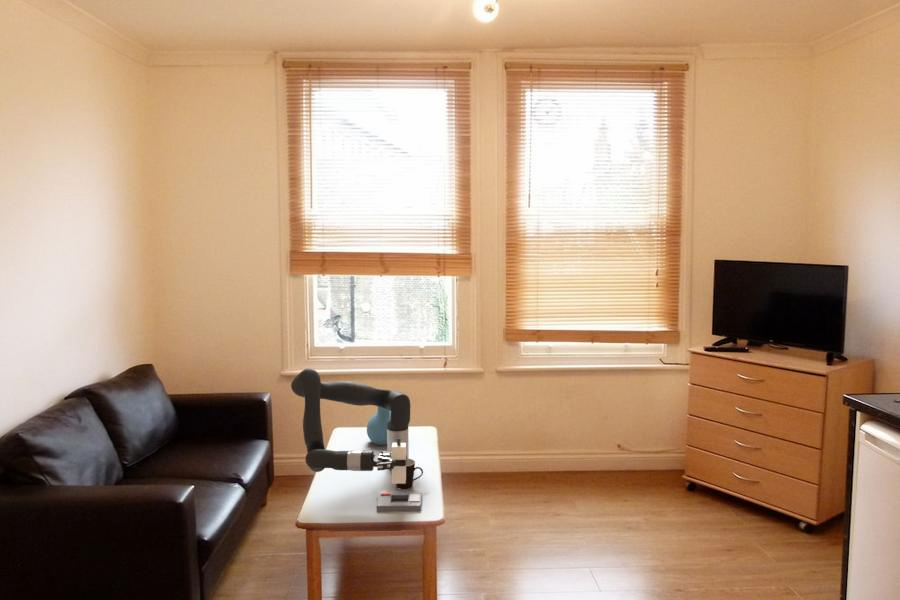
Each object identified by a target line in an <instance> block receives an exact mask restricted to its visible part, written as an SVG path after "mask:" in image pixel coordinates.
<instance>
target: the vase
mask: <svg viewBox="0 0 900 600" xmlns="http://www.w3.org/2000/svg"><path fill="white" fill-rule="evenodd" d="M390 420H391V411H389V410H387V409H385V408H382V407H379V406H377V411H376V413H375V414H373V415H372V416H371V417H370V419H369V421H368V422H367V425H366V434H367V437H368V439H369V440H370V441H371V442H372V443H373V444H374V445H378V446H387V423H388V421H390Z"/></svg>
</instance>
